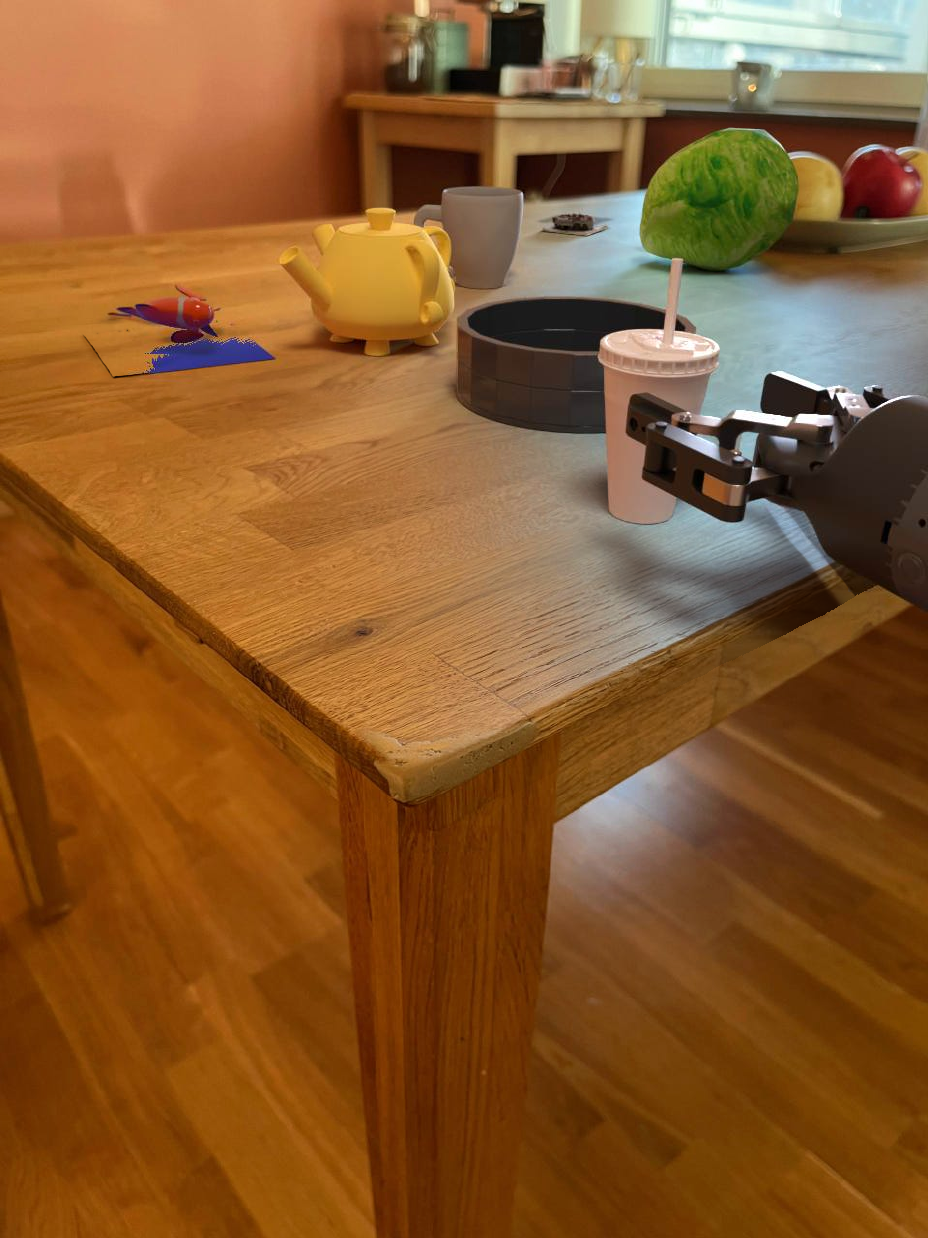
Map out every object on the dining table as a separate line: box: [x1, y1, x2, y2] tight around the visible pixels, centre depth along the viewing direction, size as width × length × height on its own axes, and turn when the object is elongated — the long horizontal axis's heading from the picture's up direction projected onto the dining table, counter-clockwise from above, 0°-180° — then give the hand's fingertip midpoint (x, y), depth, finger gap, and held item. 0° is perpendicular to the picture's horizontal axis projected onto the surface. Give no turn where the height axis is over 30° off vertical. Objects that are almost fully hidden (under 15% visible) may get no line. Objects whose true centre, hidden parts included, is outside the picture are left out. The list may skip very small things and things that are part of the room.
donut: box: [540, 212, 610, 237], centre depth 144 cm, size 8×8×2 cm
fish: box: [107, 284, 221, 344], centre depth 85 cm, size 13×5×9 cm
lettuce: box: [638, 127, 800, 271], centre depth 118 cm, size 17×20×17 cm
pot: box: [455, 295, 697, 434], centre depth 75 cm, size 18×18×6 cm
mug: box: [413, 185, 524, 290], centre depth 109 cm, size 12×9×10 cm
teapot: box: [278, 207, 456, 357], centre depth 86 cm, size 14×14×11 cm
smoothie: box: [598, 258, 721, 525], centre depth 53 cm, size 6×6×14 cm
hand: (702, 401), depth 50 cm, fingers open, 8 cm apart
